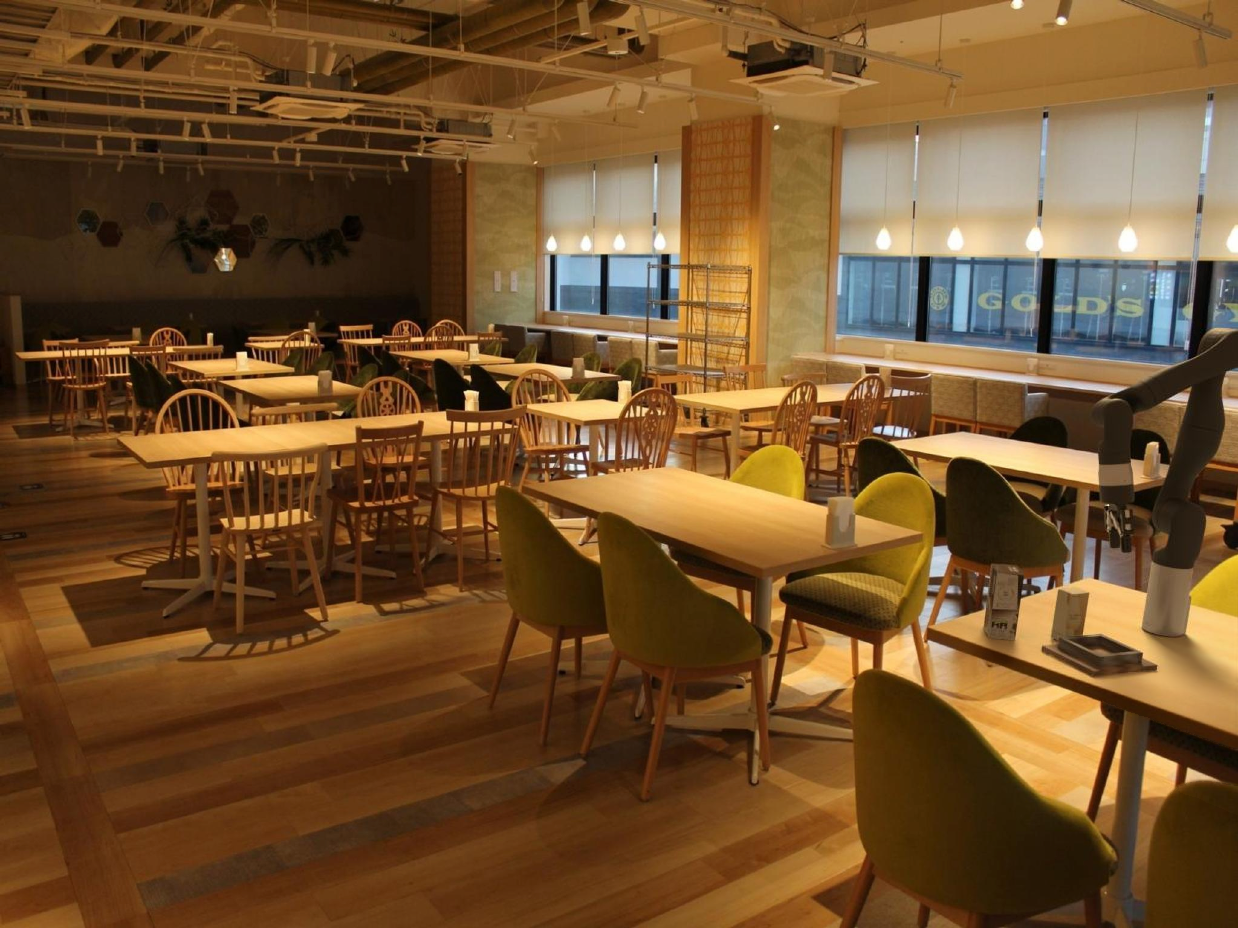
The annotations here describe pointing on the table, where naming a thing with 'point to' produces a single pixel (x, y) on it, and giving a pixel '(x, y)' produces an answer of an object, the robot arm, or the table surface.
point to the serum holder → (1099, 655)
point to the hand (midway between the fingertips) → (1120, 550)
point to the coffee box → (1003, 601)
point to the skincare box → (1069, 613)
